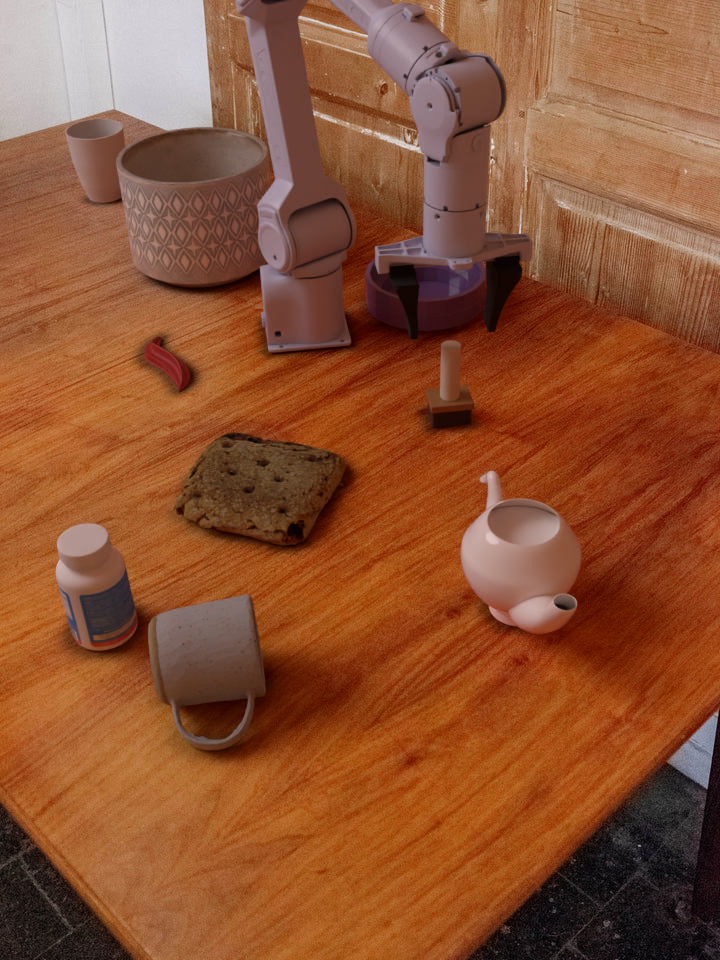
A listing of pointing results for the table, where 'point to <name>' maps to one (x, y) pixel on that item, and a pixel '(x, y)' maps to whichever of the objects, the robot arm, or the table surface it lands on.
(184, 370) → the cayenne pepper
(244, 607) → the ceramic mug
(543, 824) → the table surface
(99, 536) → the pill bottle
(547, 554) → the teapot
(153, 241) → the planter
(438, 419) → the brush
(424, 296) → the bowl
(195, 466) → the pastry
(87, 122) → the cup
